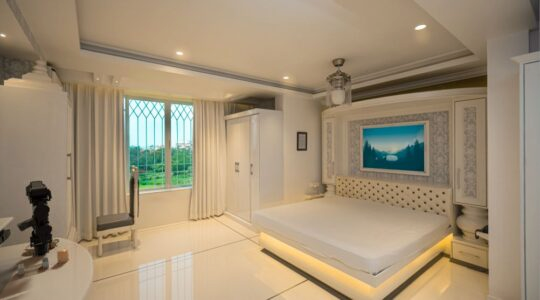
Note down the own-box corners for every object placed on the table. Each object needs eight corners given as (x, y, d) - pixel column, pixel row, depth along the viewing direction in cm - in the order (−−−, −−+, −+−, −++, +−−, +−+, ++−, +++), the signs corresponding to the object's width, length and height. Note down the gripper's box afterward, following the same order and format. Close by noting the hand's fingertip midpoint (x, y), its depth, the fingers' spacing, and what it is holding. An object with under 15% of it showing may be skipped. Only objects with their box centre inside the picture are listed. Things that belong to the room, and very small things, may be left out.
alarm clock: (22, 246, 141) (54, 233, 153) (24, 254, 142) (56, 240, 154) (27, 251, 135) (60, 237, 147) (30, 259, 135) (63, 244, 148)
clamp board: (19, 271, 118) (18, 269, 118) (46, 263, 125) (46, 261, 125) (19, 281, 110) (19, 279, 110) (49, 272, 117) (49, 270, 117)
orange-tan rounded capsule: (57, 262, 126) (56, 250, 125) (68, 259, 129) (67, 248, 129) (58, 265, 123) (57, 253, 122) (69, 261, 126) (68, 250, 126)
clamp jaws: (18, 272, 116) (17, 265, 116) (47, 263, 123) (47, 257, 123) (18, 276, 112) (18, 269, 112) (48, 267, 119) (48, 260, 119)
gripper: (16, 212, 124) (18, 242, 125) (19, 220, 111) (21, 253, 112) (46, 207, 132) (48, 235, 133) (51, 214, 120) (53, 245, 121)
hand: (42, 242), depth 124 cm, fingers open, 9 cm apart
